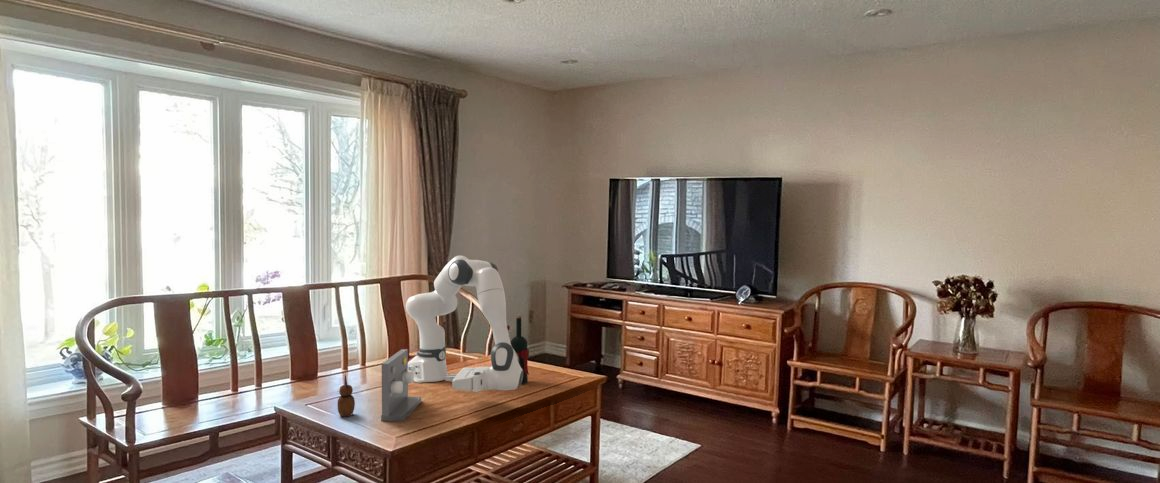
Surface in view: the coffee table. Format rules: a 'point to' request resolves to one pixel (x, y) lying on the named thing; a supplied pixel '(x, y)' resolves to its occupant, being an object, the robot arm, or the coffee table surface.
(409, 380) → the beige rounded lump
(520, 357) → the wine bottle
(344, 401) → the wooden figurine
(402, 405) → the control panel
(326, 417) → the coffee table surface
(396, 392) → the unlit button
